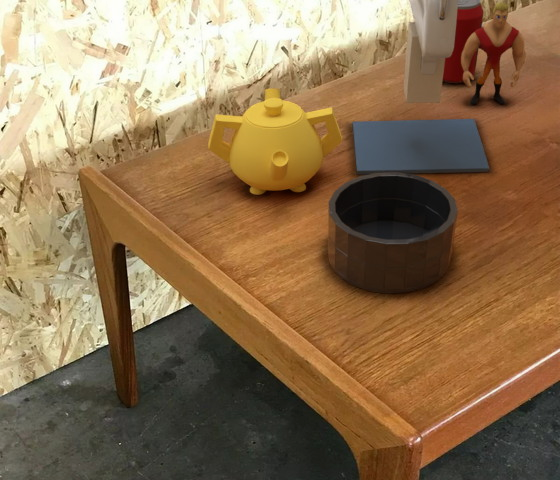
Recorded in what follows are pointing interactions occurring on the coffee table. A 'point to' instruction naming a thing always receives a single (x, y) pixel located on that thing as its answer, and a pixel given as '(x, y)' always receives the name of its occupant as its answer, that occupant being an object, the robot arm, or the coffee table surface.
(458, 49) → the beverage can
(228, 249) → the coffee table surface
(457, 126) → the blue rectangular board
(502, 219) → the coffee table surface
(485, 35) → the action figure
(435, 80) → the item
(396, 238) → the pot
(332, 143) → the teapot
